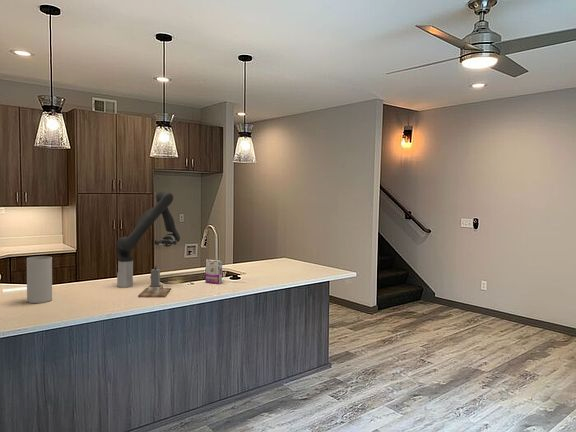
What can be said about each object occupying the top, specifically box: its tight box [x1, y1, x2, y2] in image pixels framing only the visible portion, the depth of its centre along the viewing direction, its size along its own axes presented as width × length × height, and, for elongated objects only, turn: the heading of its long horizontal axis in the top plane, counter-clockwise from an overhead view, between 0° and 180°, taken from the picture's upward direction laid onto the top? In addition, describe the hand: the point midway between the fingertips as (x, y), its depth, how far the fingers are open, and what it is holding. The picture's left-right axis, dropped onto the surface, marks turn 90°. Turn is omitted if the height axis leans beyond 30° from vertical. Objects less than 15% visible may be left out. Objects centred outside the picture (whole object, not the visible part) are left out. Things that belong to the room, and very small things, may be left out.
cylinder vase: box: [26, 255, 53, 304], centre depth 244 cm, size 12×12×25 cm
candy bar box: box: [205, 259, 223, 285], centre depth 303 cm, size 11×5×16 cm, turn 70°
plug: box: [150, 264, 161, 287], centre depth 268 cm, size 5×5×17 cm
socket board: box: [137, 284, 172, 298], centre depth 269 cm, size 16×20×5 cm
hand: (163, 243), depth 282 cm, fingers open, 8 cm apart
